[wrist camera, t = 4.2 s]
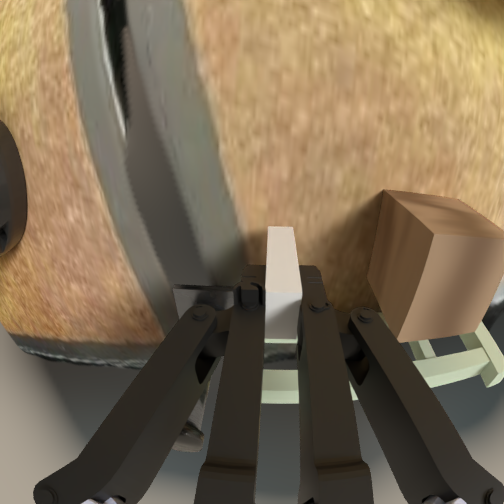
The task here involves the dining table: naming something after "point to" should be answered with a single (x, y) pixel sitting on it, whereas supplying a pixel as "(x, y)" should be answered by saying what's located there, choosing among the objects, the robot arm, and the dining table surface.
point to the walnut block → (434, 265)
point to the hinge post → (191, 432)
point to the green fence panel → (431, 367)
